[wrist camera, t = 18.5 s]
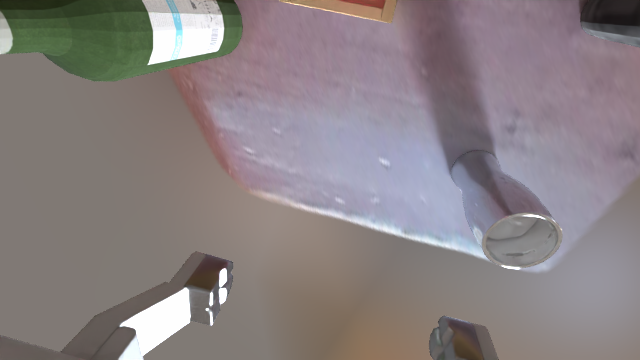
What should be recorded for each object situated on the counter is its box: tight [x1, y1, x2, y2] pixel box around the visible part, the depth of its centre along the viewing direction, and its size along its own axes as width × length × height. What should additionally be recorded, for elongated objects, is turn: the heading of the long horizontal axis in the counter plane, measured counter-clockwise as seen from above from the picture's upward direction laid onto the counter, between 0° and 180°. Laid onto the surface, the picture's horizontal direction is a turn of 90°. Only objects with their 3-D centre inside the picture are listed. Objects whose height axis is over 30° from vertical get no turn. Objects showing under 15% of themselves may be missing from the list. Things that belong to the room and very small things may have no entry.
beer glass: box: [451, 150, 562, 268], centre depth 34 cm, size 7×7×15 cm
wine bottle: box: [0, 0, 243, 81], centre depth 24 cm, size 8×8×30 cm
